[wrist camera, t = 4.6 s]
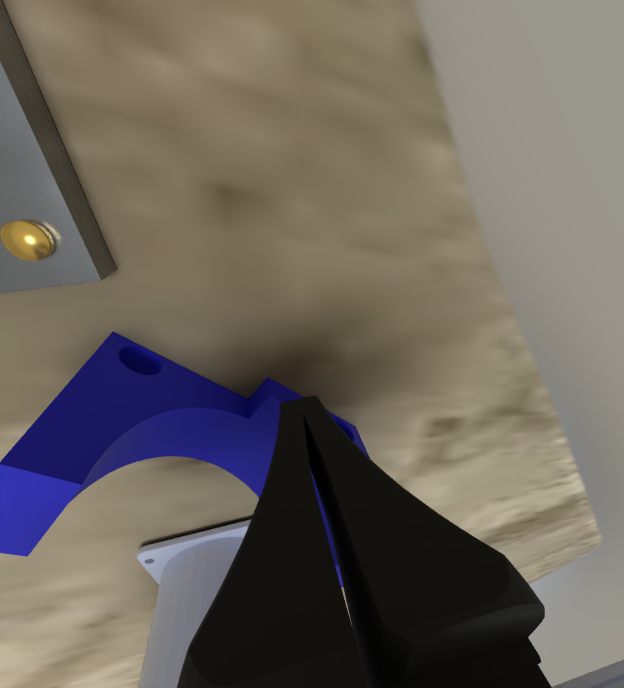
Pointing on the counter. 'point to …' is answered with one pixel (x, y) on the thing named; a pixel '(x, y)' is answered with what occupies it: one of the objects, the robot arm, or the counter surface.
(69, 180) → the panel
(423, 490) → the counter surface
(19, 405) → the counter surface
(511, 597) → the robot arm
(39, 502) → the cable clip
